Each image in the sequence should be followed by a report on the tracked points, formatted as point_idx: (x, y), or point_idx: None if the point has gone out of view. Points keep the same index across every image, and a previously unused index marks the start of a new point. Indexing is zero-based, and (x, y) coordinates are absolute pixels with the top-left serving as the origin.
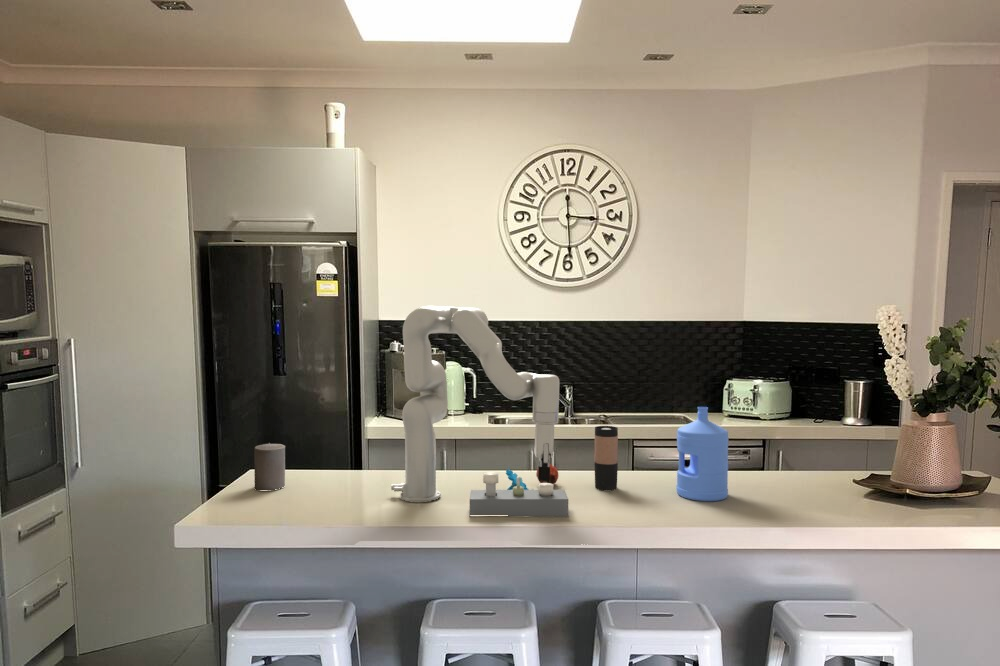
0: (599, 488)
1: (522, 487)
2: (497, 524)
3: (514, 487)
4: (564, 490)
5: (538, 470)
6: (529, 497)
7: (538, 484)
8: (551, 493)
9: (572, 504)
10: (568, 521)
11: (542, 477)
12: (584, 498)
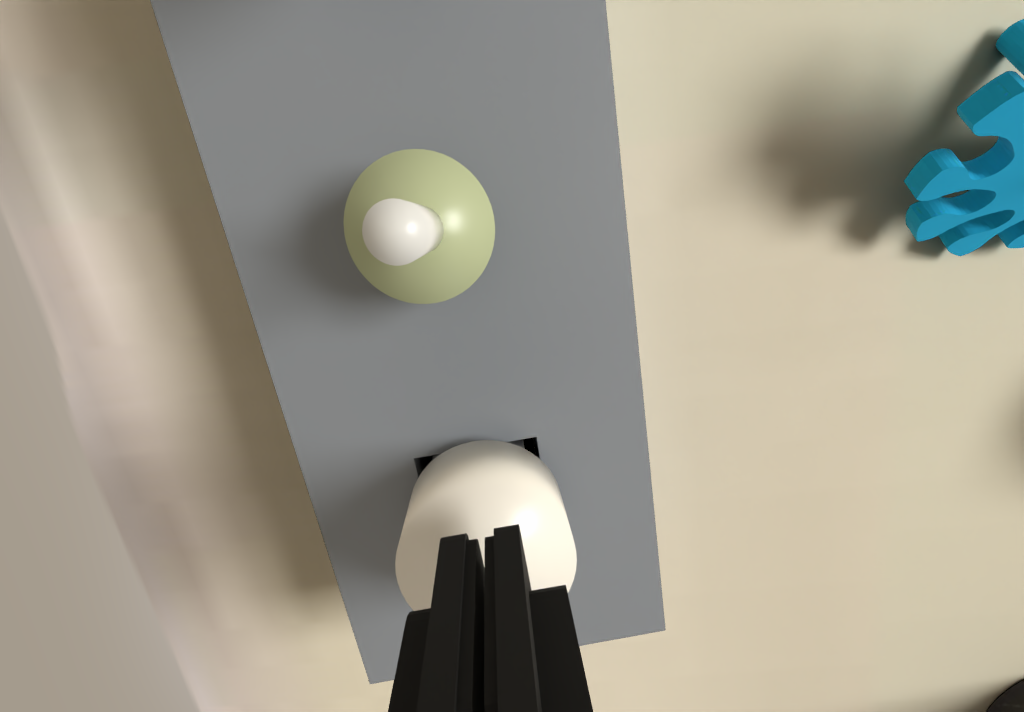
0: (1011, 701)
1: (437, 284)
2: (41, 91)
3: (415, 173)
4: (639, 632)
5: (497, 630)
6: (334, 364)
7: (483, 488)
8: None
9: (675, 576)
10: (296, 585)
11: (411, 620)
12: (814, 630)
